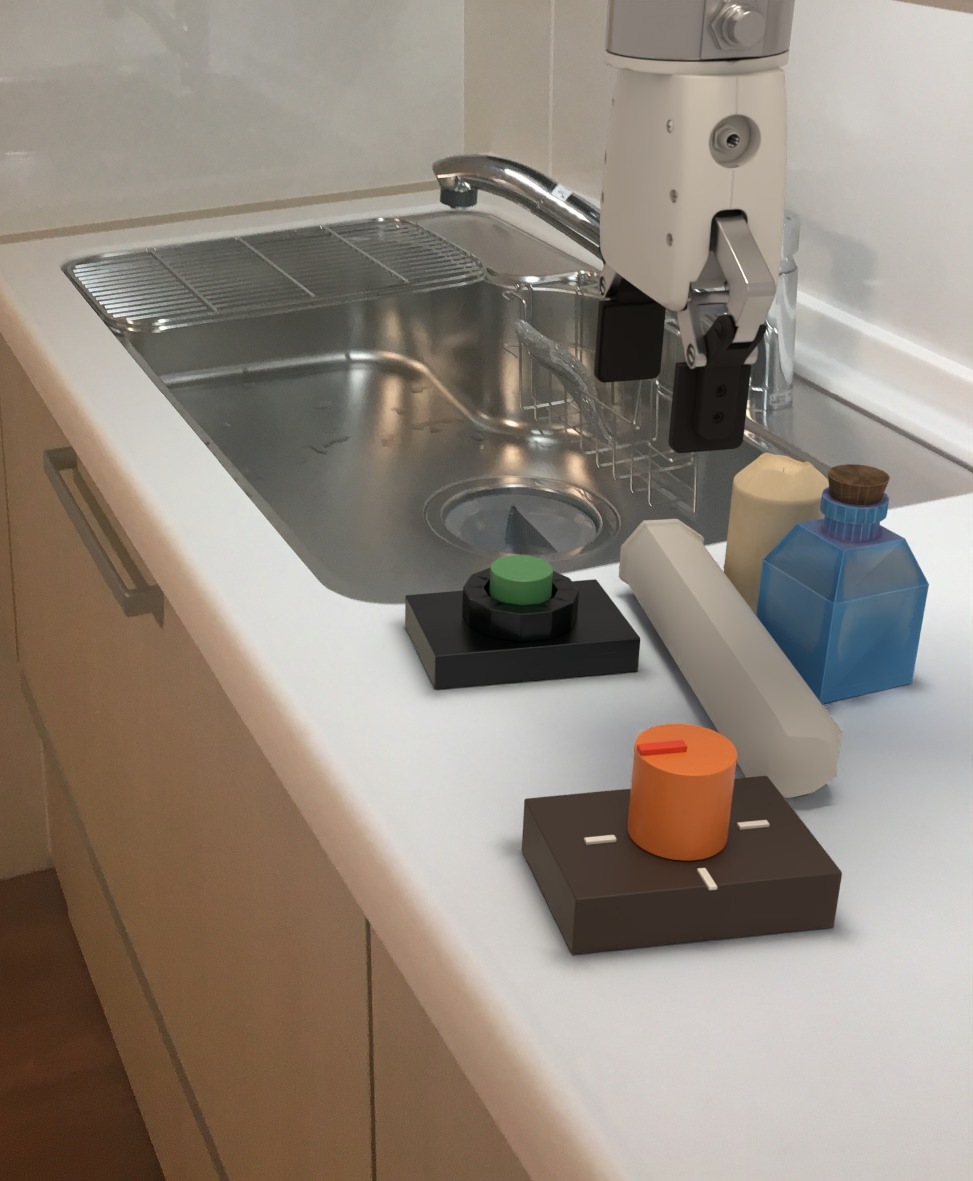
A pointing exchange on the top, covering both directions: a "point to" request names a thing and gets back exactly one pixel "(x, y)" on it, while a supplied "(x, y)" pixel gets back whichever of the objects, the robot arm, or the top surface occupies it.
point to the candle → (767, 515)
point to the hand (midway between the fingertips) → (663, 411)
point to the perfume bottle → (846, 592)
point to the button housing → (519, 634)
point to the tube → (730, 659)
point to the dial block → (677, 873)
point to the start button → (521, 580)
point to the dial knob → (681, 791)
